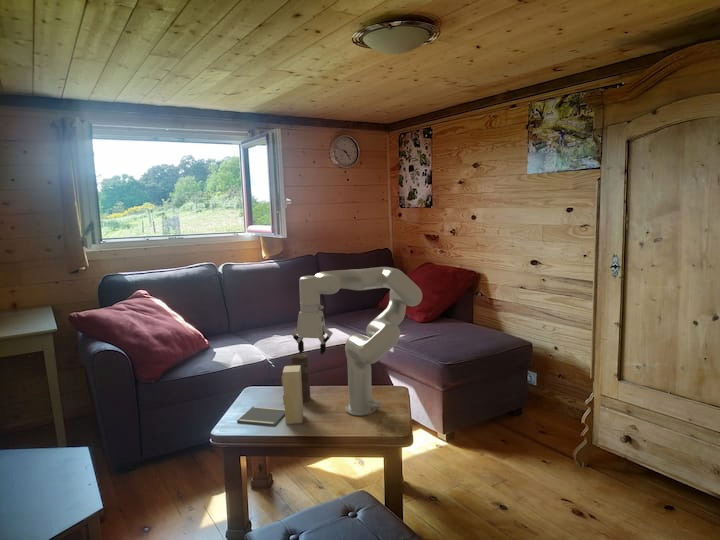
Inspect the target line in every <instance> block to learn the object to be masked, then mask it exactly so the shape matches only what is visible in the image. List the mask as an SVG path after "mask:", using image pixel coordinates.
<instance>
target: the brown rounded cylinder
mask: <svg viewBox="0 0 720 540" xmlns="http://www.w3.org/2000/svg"><path fill="white" fill-rule="evenodd" d="M290 358H291V361H290V362H291V366H297V365H300V366H301V380H302V400H303V403H305V402H308V401H309V400H310V399H311V386H310V385H311V384H310V372H309V370H310V369H309V357H308V355H307V354H306V353H304V354H294V355H292V356H291V357H290Z"/></svg>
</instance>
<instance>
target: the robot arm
mask: <svg viewBox="0 0 720 540" xmlns="http://www.w3.org/2000/svg"><path fill="white" fill-rule="evenodd" d="M298 283H299V288H298V289H299V304H300V306H299V307H300V308H299V310H300V311H299V312H298V317H297V327H295V328H294V329H293V330H291V331H289V332H290V335H291V336H292V337H293V339H294V340H295V341H296V344H297V347H298V348H297V349H298V353H299V354H302V353H304V352H305V346H304V345H305V344H304V339H305V338H306V339H318V340H319V342H320V344H319V347H320V355H324V354H325V352H326V351H327V344H326V343H327V342H328V341H329V340H330V338H331V336H332V335H333V332H332V331H331V330H330V329H328V328H327V327H326V324H325V323H326V322H325V316H324V311H323V309H324V305H321V304H322V303H321V295H334V294H336V293H338V292H339V290H340V289H344V290H345V289H346V290H352V291H367V290H373V289H382V288H384V289H385V288H386V289H390V290H389V301H388V304H387V307H386V308H385V309H384V310H382V312H381V313H380V314H378V315H377V316H376V317H375V318H374V319H373V320H371V321H370V322H369V323H368V325H367V326H366V331H365V332H366V335H367V336H365V335H363V334H360V333H356V334H351V335H350V336H349V337H348V338H347V340H346V341H345V346H344V349H345V357H346V361H347V381H348V382H347V386H348V389H347V391H348V404H346V405H345V408H344V410H345V411H344V412H346V413H347V414H349V415H351V416H356V417H357V416H361V417H362V416H368V415H371V414H373V413H374V412H376V409H382V408H383V403H381V401H376V400H374V399H375V398H374V396H373V395H372V391H373V389H372V364H375V363H377V362H378V361H380V359H381V358H383V357H384V356H385V355H386V354H387V353H388V352H389V351H391V350H392V348H394V347H395V346H396V345H397V344H398V342H399V339H400V337H401V330H400V328H399V325H400V324H401V323H402V322H403V320H404V318H405V315H406V310H407V306H408V307H416V306H418V305H419V304H420V303H421V302H422V300H423V292H422V289H421V288H420V287H419V286H418V285H417V284H416V283H415V282H414V281H413V280H411V279H410V278H409V277H408V275H406V273H404V271H401V269H399V268H394V267H389V266H379V267H377V266H376V267H369V268H360V269H359V268H357V269H340V270H339V269H337V270H327V271H320V272H317V273H315V275H303V276H300V278H299V282H298ZM325 335H326V336H325Z"/></svg>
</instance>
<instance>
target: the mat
mask: <svg viewBox="0 0 720 540" xmlns="http://www.w3.org/2000/svg"><path fill="white" fill-rule="evenodd" d="M283 418H285V408H277V407H264V406H262V407H261V406H252V407H250V409H249V410H247V411H246V412H245V413H244V414H243V415H241V417H239V418H238V419H237V420H236V423H237V422H238V424H247V425H257V426H267V427H270V426H271V427H276V425H277V424H278V423H279V422H281V420H282V419H283Z"/></svg>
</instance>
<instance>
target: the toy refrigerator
mask: <svg viewBox="0 0 720 540" xmlns="http://www.w3.org/2000/svg"><path fill="white" fill-rule="evenodd" d="M281 386H282V387H283V395H282V397H283V398H282V399H283V401H282V403H283V406H284V409H285V416H284V419H285V420H284V421H285V424H286V425H292V424H293V425H294V424H303V421H304V420H303V419H304V407H303V406H304V405H303V403H304V402H303V400H302V380H301V366H300V365H297V366H292V365H285V366H284V367H283V370H282V376H281Z"/></svg>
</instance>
